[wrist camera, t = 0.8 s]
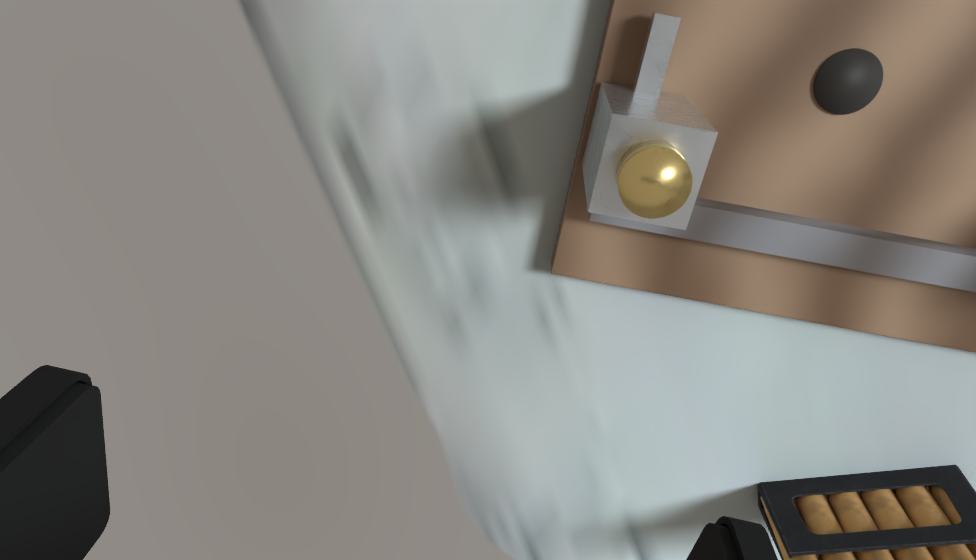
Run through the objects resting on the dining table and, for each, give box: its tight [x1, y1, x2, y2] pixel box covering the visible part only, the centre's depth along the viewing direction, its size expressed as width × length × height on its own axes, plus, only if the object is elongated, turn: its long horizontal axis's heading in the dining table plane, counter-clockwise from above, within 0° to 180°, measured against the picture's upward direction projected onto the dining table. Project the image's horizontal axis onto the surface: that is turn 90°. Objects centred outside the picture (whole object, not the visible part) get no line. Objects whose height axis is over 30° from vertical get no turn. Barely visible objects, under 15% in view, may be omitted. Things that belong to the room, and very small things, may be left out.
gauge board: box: [551, 0, 976, 352], centre depth 25 cm, size 28×15×8 cm, turn 81°
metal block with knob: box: [582, 12, 718, 230], centre depth 24 cm, size 4×7×7 cm, turn 171°
